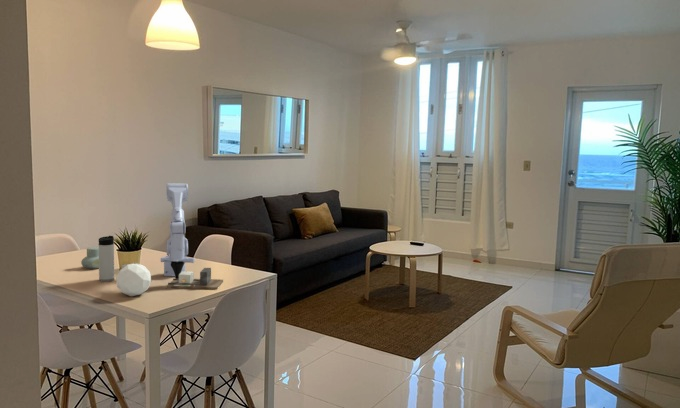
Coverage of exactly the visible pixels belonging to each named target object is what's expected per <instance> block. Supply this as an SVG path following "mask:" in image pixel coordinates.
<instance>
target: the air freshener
mask: <svg viewBox="0 0 680 408" xmlns="http://www.w3.org/2000/svg"><path fill="white" fill-rule="evenodd" d="M80 262H81V263H80V264H81V265H82V267H83V268H86V269H88V270H97V269H98V270H99V246H91V247H87V248H86V256H85V257H83V258H82V259H81V261H80Z"/></svg>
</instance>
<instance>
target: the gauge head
mask: <svg viewBox="0 0 680 408" xmlns="http://www.w3.org/2000/svg"><path fill="white" fill-rule="evenodd" d="M194 273H195V271H188V270H187V271H186V270H185V271H182V272H181V273H180V274H179V283H191V282H192V281H193V280H194V279H195V277H194V276H195V275H194Z"/></svg>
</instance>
